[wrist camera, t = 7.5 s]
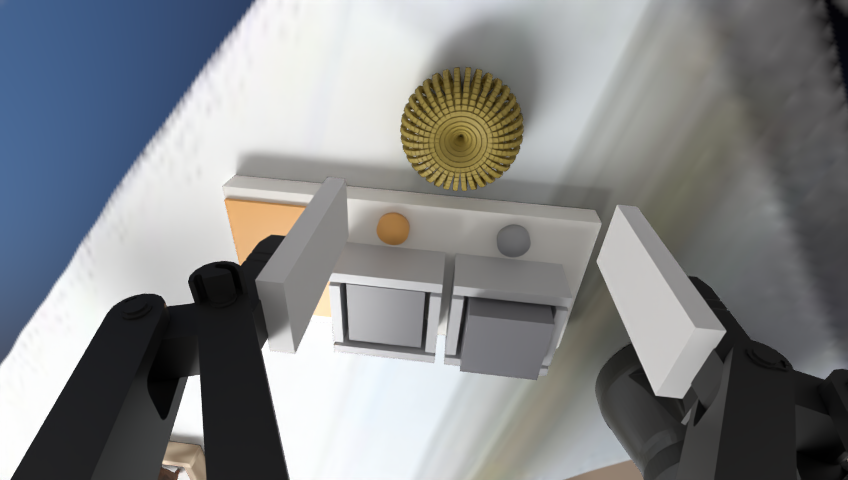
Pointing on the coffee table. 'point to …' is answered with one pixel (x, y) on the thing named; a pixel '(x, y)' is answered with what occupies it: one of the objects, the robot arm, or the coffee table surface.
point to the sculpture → (462, 129)
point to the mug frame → (186, 459)
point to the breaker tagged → (385, 315)
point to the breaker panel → (430, 254)
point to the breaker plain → (505, 337)
